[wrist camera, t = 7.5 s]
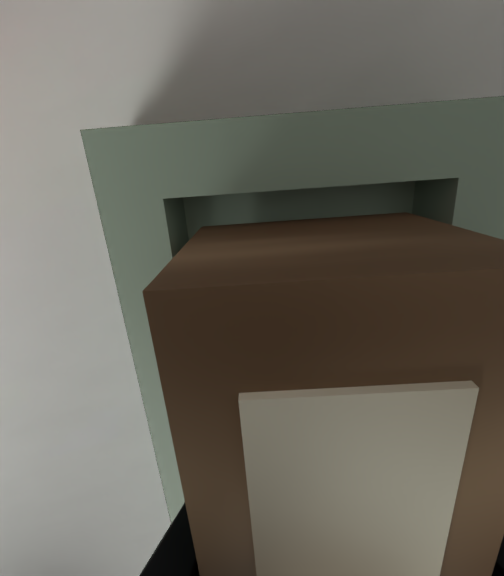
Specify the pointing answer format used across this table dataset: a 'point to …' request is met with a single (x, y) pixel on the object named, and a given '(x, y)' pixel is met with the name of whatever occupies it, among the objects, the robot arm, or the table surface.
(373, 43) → the table surface
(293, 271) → the brown two-tone block
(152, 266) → the cradle
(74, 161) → the table surface
